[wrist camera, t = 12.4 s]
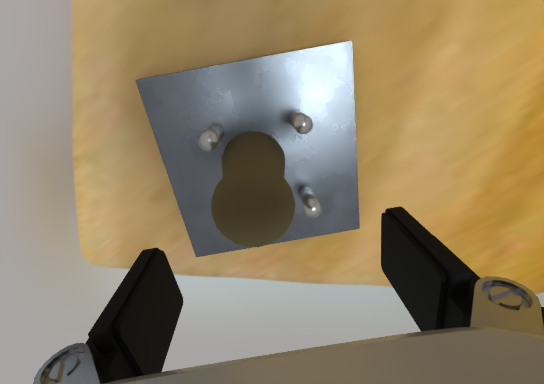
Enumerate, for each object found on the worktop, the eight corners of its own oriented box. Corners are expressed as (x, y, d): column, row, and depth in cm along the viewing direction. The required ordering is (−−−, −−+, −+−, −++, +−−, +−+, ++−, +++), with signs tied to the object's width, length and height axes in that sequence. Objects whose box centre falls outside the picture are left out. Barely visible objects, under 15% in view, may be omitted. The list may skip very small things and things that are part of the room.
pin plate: (141, 79, 23) (111, 79, 18) (347, 42, 23) (372, 32, 18) (198, 250, 30) (187, 283, 25) (355, 223, 30) (375, 250, 25)
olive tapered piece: (298, 165, 25) (327, 221, 15) (252, 204, 27) (251, 279, 17) (255, 116, 23) (256, 144, 13) (208, 161, 25) (175, 217, 15)
